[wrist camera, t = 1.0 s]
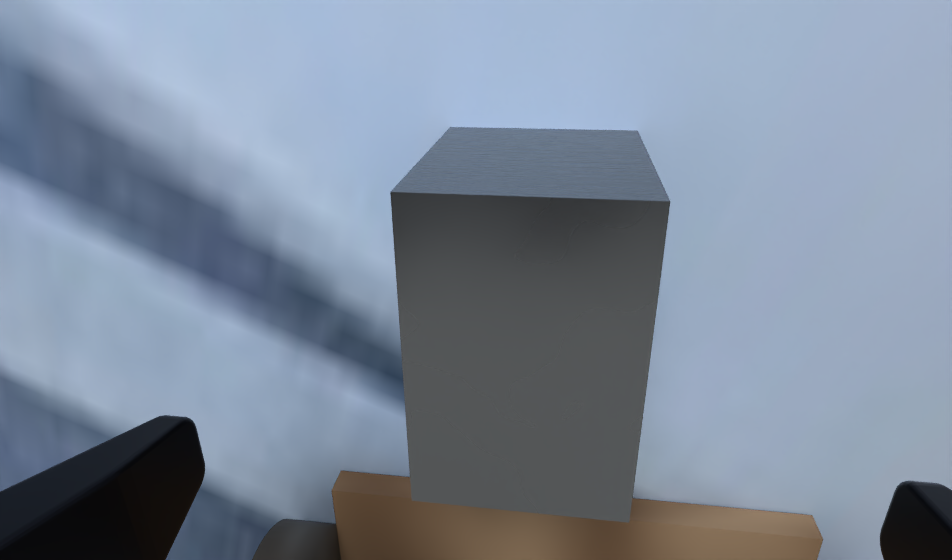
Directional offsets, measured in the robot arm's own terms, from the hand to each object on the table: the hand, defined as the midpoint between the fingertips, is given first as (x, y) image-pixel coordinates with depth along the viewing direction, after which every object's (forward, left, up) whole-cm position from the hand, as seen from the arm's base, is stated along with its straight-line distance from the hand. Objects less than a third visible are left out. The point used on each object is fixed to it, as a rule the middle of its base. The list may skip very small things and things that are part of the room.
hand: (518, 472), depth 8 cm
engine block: (0, 0, -7) cm, 7 cm away
